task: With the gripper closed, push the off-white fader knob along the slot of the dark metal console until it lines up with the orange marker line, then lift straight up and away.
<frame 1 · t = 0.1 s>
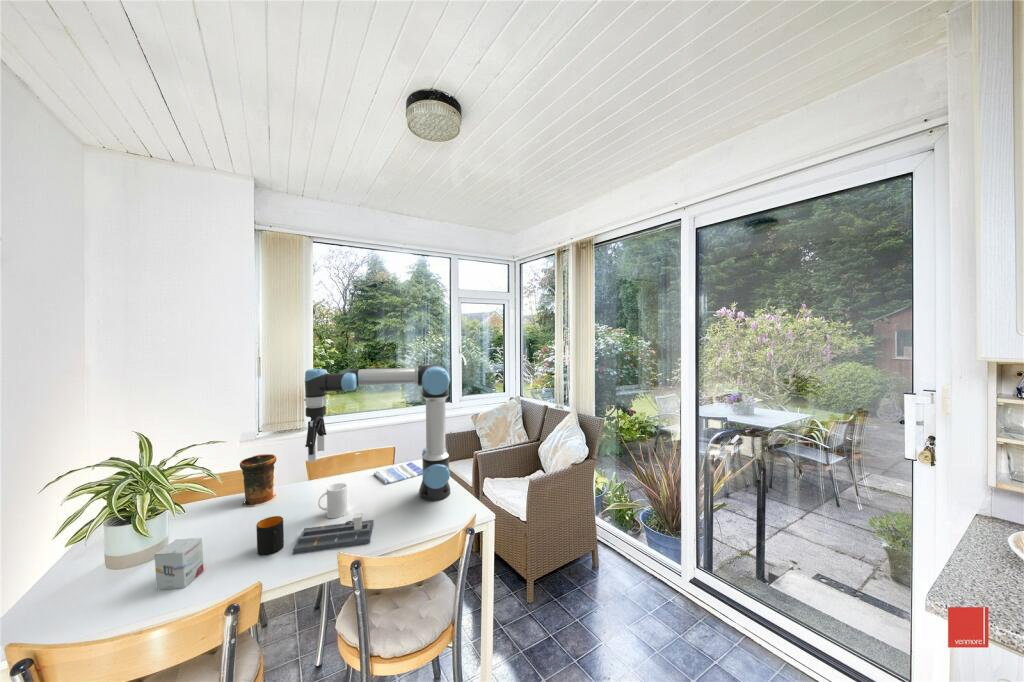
hand: (316, 456, 154), 28 cm above the table, fingers open, 13 cm apart
fader: (357, 522, 145), point 5 cm above the table, slide at 0.0 cm
dish towel: (399, 475, 204), on the table
mug 2: (272, 551, 135), on the table
vessel: (259, 500, 174), on the table
mug: (333, 514, 161), on the table
ink box: (180, 580, 119), on the table
console: (336, 538, 143), on the table
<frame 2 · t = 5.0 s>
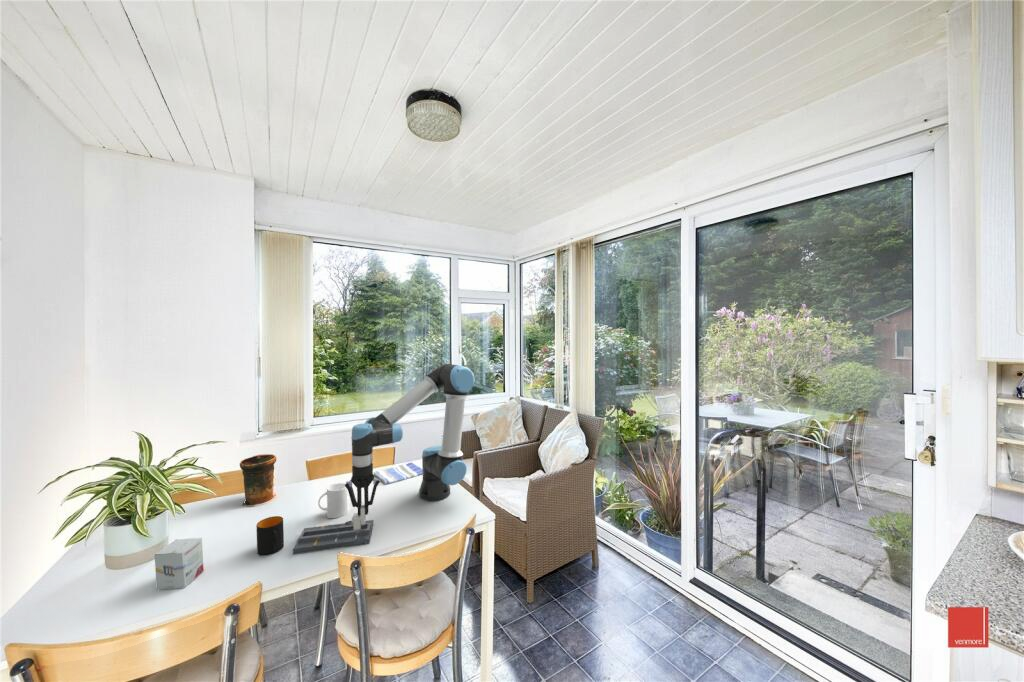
hand: (363, 522, 145), 5 cm above the table, fingers closed
fader: (357, 522, 145), point 5 cm above the table, slide at 0.3 cm, touching gripper
everything else where it was.
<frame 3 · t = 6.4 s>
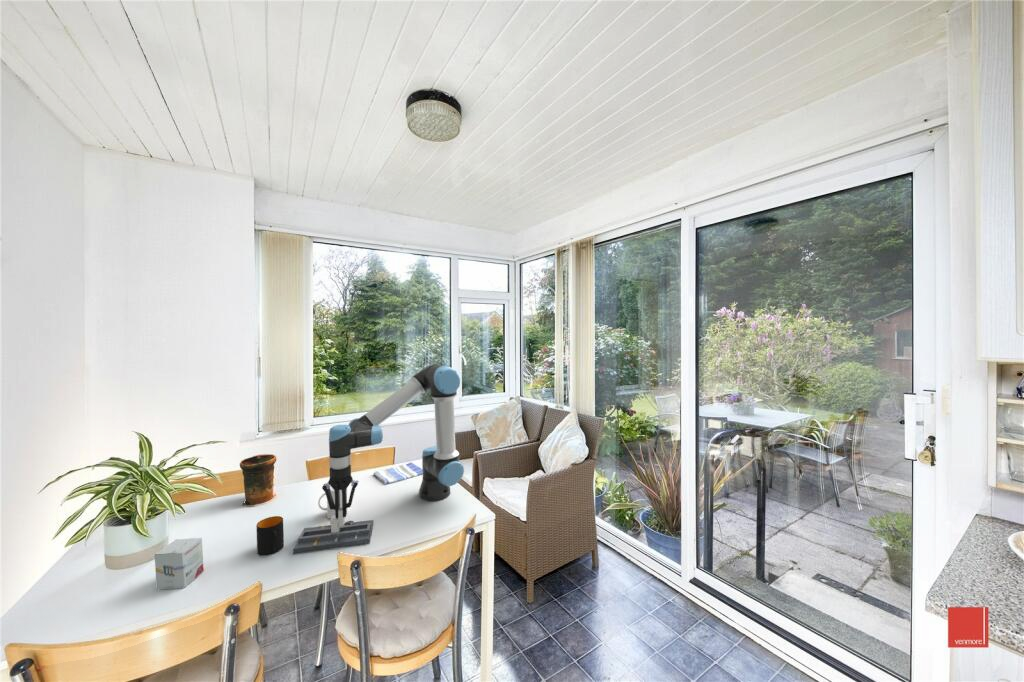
hand: (341, 525, 143), 5 cm above the table, fingers closed
fader: (335, 525, 143), point 5 cm above the table, slide at 8.3 cm, touching gripper
everything else where it was.
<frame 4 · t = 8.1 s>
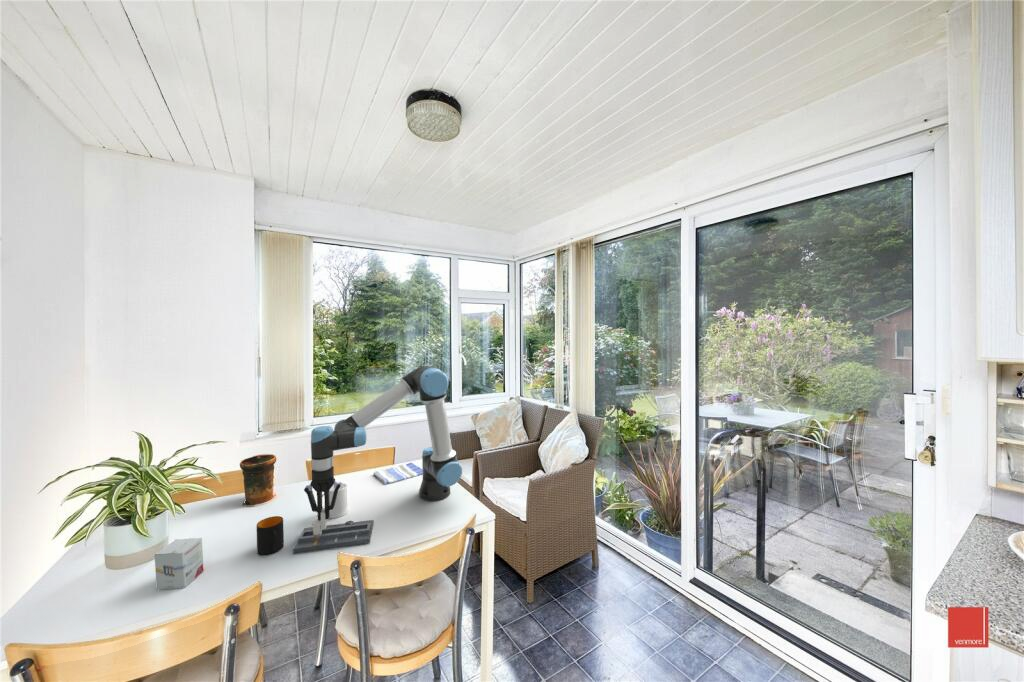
hand: (323, 527, 142), 5 cm above the table, fingers closed
fader: (317, 527, 141), point 5 cm above the table, slide at 14.5 cm, touching gripper
everything else where it was.
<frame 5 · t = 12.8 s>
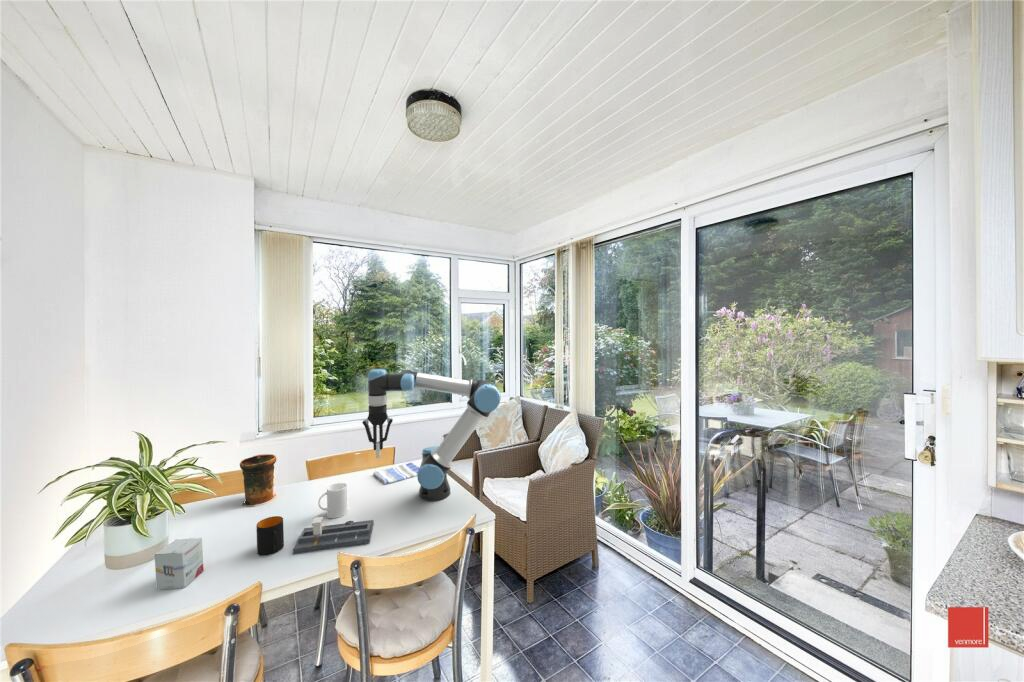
hand: (378, 456, 164), 24 cm above the table, fingers closed
fader: (317, 527, 141), point 5 cm above the table, slide at 14.5 cm
everything else where it was.
at the end: fader slide at 14.5 cm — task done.
